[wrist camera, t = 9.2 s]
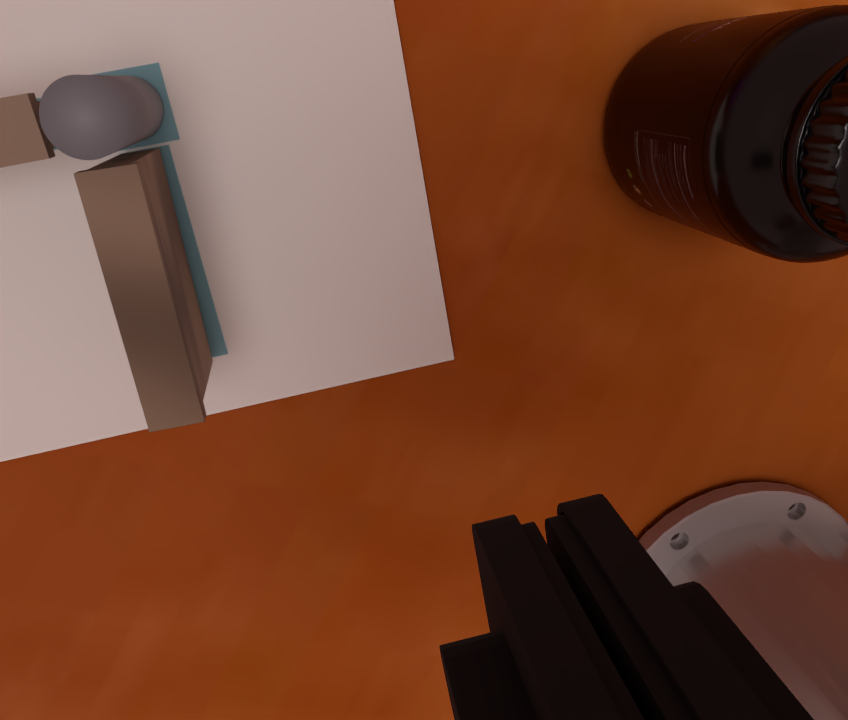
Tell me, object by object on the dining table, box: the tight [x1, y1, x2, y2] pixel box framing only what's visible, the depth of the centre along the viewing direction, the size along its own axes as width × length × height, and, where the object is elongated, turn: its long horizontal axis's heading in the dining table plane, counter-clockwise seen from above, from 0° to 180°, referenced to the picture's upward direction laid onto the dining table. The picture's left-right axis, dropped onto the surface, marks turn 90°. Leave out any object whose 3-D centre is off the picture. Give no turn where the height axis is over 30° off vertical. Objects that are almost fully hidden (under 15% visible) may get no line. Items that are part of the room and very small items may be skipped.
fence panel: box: [73, 148, 213, 432], centre depth 24 cm, size 8×2×5 cm, turn 8°
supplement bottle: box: [605, 5, 848, 263], centre depth 23 cm, size 7×7×12 cm
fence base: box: [0, 0, 454, 462], centre depth 23 cm, size 19×16×7 cm
